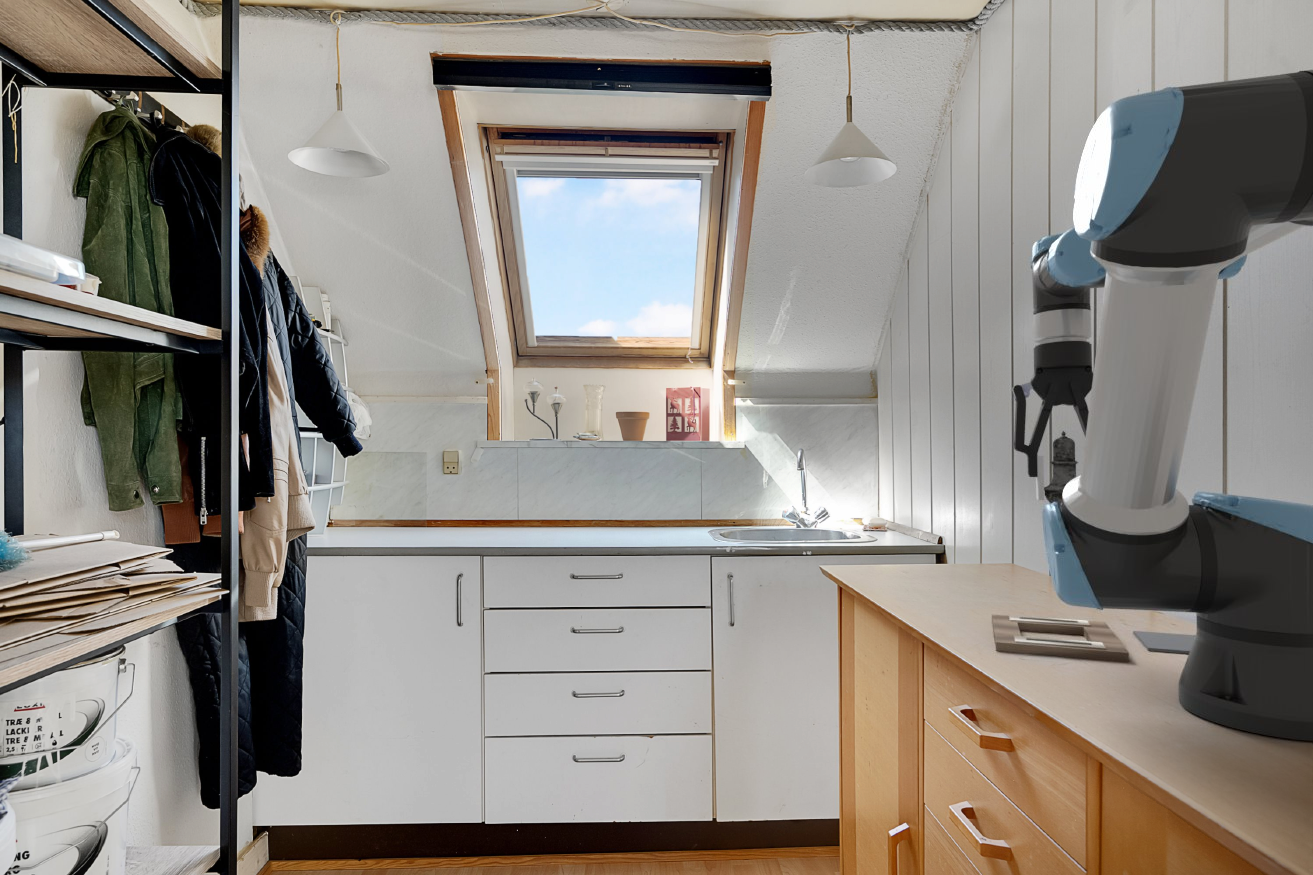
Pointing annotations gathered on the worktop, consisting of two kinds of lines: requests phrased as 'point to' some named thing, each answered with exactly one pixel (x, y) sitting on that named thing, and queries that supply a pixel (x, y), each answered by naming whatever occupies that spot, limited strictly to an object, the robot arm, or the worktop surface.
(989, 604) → the worktop surface
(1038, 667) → the worktop surface
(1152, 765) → the worktop surface
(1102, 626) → the label board
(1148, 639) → the rubber mat
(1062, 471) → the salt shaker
